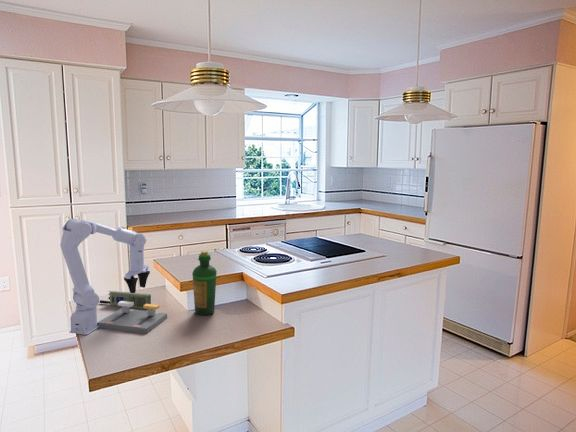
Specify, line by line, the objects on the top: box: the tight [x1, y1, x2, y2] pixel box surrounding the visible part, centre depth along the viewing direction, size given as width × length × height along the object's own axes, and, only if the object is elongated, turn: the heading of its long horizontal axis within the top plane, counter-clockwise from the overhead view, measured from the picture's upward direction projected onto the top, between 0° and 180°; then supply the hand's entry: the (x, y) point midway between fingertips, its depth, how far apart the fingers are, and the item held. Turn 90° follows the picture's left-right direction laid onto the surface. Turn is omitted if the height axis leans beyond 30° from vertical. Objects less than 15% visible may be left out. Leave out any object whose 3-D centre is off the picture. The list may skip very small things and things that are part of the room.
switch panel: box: [97, 307, 168, 334], centre depth 167 cm, size 16×22×2 cm
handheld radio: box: [99, 290, 152, 310], centre depth 184 cm, size 7×3×25 cm
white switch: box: [117, 301, 134, 313], centre depth 171 cm, size 2×6×4 cm, turn 78°
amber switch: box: [143, 303, 160, 316], centre depth 169 cm, size 2×6×4 cm, turn 78°
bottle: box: [192, 250, 218, 316], centre depth 177 cm, size 11×11×28 cm
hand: (137, 289), depth 176 cm, fingers open, 7 cm apart
